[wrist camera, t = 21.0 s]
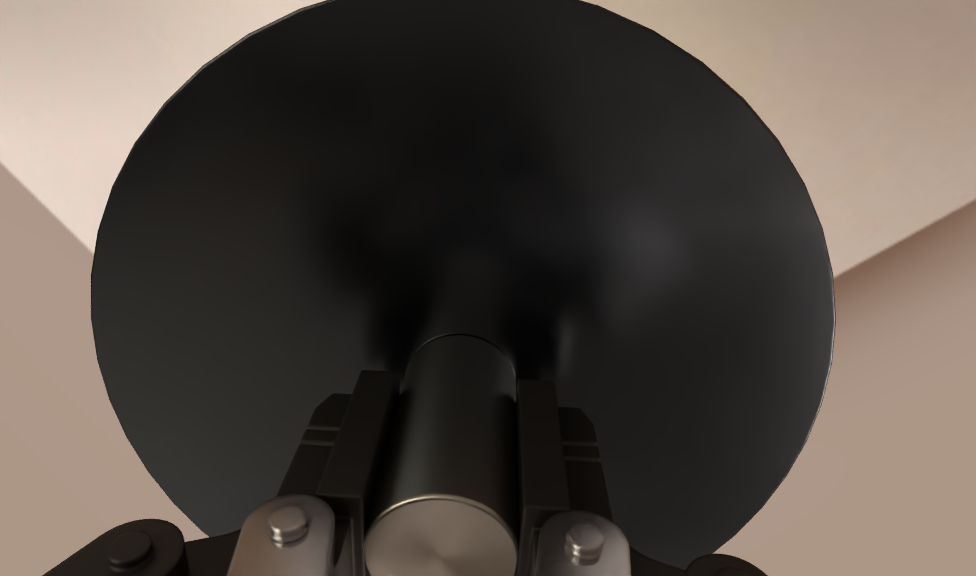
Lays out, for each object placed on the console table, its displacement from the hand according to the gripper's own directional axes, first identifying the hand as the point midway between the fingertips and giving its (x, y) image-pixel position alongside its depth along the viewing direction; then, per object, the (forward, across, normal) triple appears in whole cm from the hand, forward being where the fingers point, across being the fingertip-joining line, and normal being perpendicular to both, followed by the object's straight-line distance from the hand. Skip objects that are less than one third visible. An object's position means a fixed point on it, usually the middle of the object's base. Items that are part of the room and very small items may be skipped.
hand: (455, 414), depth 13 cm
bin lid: (+2, 0, 0) cm, 2 cm away
